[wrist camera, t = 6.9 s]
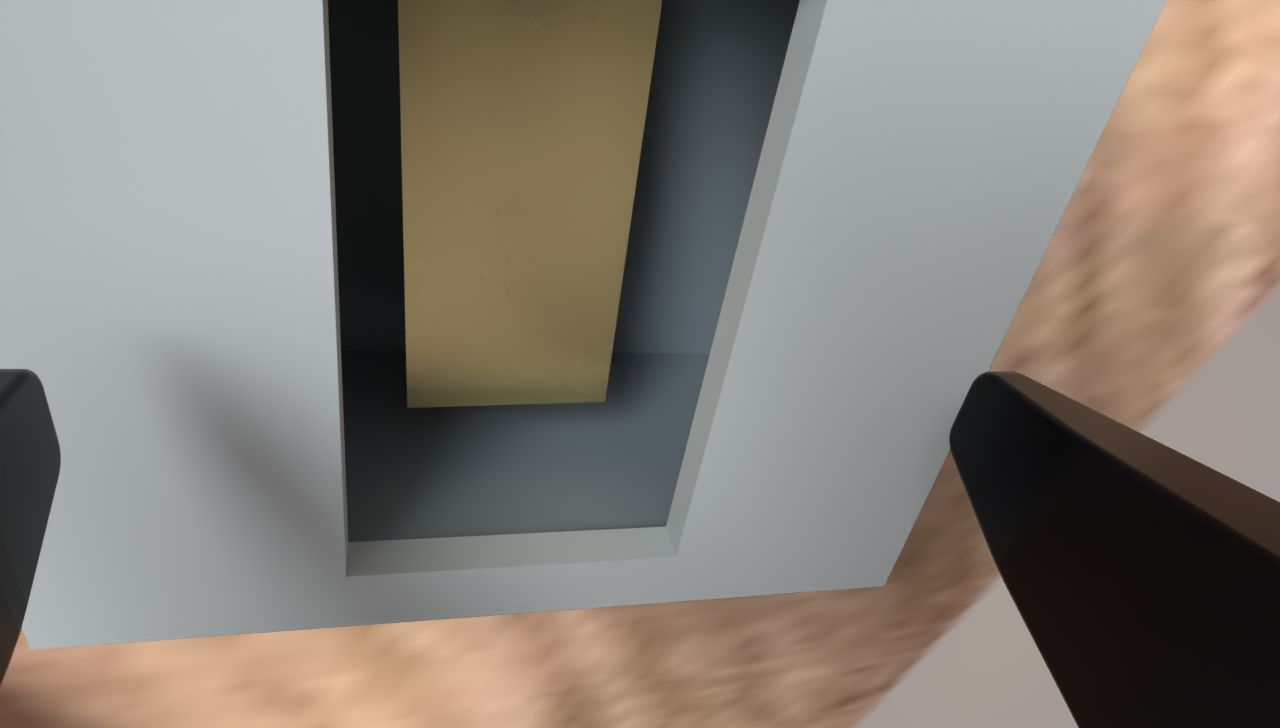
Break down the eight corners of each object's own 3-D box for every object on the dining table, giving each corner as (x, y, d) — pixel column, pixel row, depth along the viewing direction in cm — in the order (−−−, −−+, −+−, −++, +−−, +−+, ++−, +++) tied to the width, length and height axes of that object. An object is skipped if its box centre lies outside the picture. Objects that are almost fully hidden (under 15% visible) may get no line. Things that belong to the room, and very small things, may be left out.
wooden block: (612, -53, 12) (662, 0, 10) (574, 301, 16) (604, 401, 14) (397, -76, 12) (397, -25, 9) (406, 301, 15) (407, 407, 13)
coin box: (922, -164, 13) (1214, -101, 8) (762, 369, 19) (883, 585, 14) (0, -345, 10) (-361, -405, 5) (141, 366, 15) (30, 650, 11)
